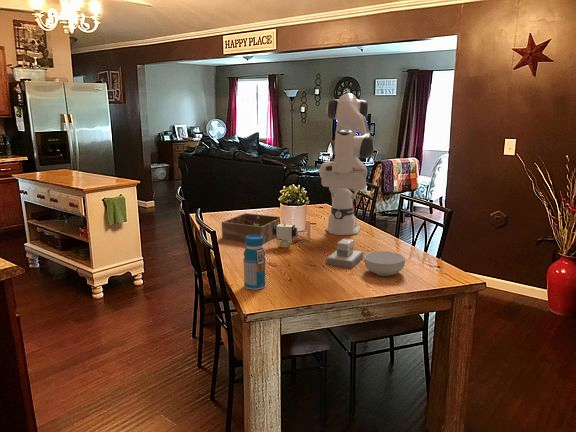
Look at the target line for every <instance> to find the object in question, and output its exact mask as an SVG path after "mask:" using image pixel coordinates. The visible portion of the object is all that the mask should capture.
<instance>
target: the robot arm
mask: <svg viewBox="0 0 576 432" xmlns="http://www.w3.org/2000/svg"><path fill="white" fill-rule="evenodd" d="M325 108H326V109H325V110H326V111H325V112H326V115H327V117H328V119H330V120H336V121H337V123H336V128H335V138H334V139H333V140H332V144H331V145H332V147H331V148H332V151H331V152H332V153H333V155H334V159H333V161H325V162H323V163H322V164H321V165H320V167H319V170H318V172H319V174H318V175H319V176H320V179H321V185H322V187H326V188H328V190H329V192H330V193H331V194H330V196H331V209H330V211H331V212H330V214H329V216H328V220H327V221H328V222H327V227H326V228H325V231H326V232H328V233H329V234H331V235H335V236H349V235H358V234H359V233H360V231H361V228H362V227H361V226H360V225H358V224H357V223H358V220H357V219H358V218H357V217H356V216H355V214H354V212H355V211H354V209H355V206H353V200H355V199H356V196H357V194H358V192H359V190H360V191H363V190H365V189H366V188H367V175H368V169H367V168H368V167H367V166H366V164H364V163H363V162H362V161H361V159H368V158H369V157H371V156H372V155H373V154H374V151H375V143H374V140H373V137H372V135H371V131H370V127H369V123H368V121H367V117H368V115H369V113H370V106H369V103H368V102H367V100H365V99H358V98H357V96H356V95H355V94H353V93H350V92H347V93H344V94H341V96H340V97H339V99H336V98H333V99H330V100H328V102H327V105H326V107H325ZM357 132H359V134H360V135H357ZM360 158H361V159H360ZM350 189H351V190H353V192H354V193H353V192H352V191H351V190H350Z"/></svg>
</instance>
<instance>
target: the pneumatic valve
mask: <svg viewBox="0 0 576 432" xmlns="http://www.w3.org/2000/svg"><path fill="white" fill-rule="evenodd" d="M273 235H275V238H274V239H277V240H279V239H281V240H280V241H279V242H278V243H279V246H280V247H281V248H283V249H284V248H286V249H287V248H289V247H290V246H291V244H292V243H291V240H294V239H295V237H297V236H298V228H297V227H296V226H295V224H287V223H286V222H283V224H277V225H276V226H275V227H273Z"/></svg>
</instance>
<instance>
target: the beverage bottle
mask: <svg viewBox="0 0 576 432" xmlns="http://www.w3.org/2000/svg"><path fill="white" fill-rule="evenodd" d="M244 244H245V246H246V247H245V249H244V252H243V256H244V258H243V260H242V261H243V278H244V280H243V281H244V282H243V283H244V288H246V289H247V290H251V291H258V290H262V289H263V288H265V287H266V257H265V256H266V251H265V249H264V247H263V245H264V244H263V237H262V236H261V235H248V236H246V237H245V242H244Z"/></svg>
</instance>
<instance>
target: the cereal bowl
mask: <svg viewBox="0 0 576 432" xmlns="http://www.w3.org/2000/svg"><path fill="white" fill-rule="evenodd" d="M363 258H364V259H363V260H364V266H365V267H366V269H368V271H369V272H372V273H374V274H376V275H378V276H380V277H390V275H391V276H393V275H394V274H397V273H399V272H401V271H402V270H403V269H404V268H405V264H406V263H405V262H406V258H405V256H404V255H403V254H401V253H397V252H395V251H394V252H392V251H387V250H385V251H384V250H383V251H382V250H380V251H371V252H368V253H366V254H365V255H363Z"/></svg>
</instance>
